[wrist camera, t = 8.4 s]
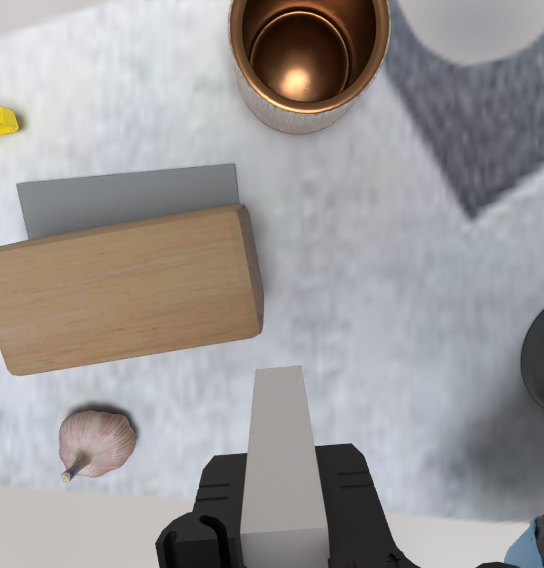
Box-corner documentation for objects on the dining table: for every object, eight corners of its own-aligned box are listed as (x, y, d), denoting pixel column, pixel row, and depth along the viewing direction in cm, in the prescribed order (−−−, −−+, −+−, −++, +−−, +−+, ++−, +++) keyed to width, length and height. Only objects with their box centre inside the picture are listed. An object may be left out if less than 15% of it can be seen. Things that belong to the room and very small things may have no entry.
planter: (308, -30, 34) (323, -113, 25) (384, 79, 36) (425, 41, 27) (211, 61, 35) (191, 15, 26) (289, 160, 37) (297, 151, 28)
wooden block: (265, 303, 40) (68, 336, 40) (247, 200, 38) (38, 237, 38) (265, 340, 30) (5, 383, 31) (240, 205, 28) (-41, 254, 28)
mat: (234, 163, 37) (234, 163, 37) (252, 327, 41) (251, 329, 41) (19, 183, 38) (15, 183, 37) (56, 345, 41) (53, 347, 41)
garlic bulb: (54, 423, 43) (8, 475, 36) (104, 384, 42) (67, 428, 35) (104, 471, 45) (70, 530, 37) (153, 433, 44) (129, 486, 36)
